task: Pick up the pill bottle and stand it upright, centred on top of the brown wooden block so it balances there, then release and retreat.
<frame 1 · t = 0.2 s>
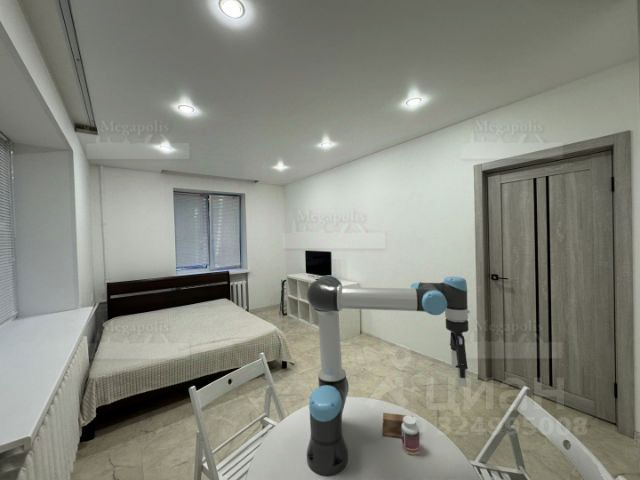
hand: (458, 376, 98), 27 cm above the table, fingers open, 13 cm apart
pill bottle: (410, 449, 100), on the table
brown wooden block: (398, 432, 108), on the table
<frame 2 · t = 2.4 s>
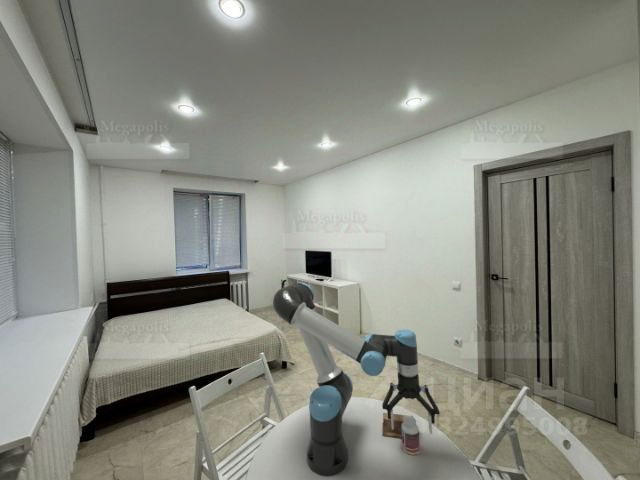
hand: (411, 429, 99), 7 cm above the table, fingers open, 13 cm apart
nothing on the table moved.
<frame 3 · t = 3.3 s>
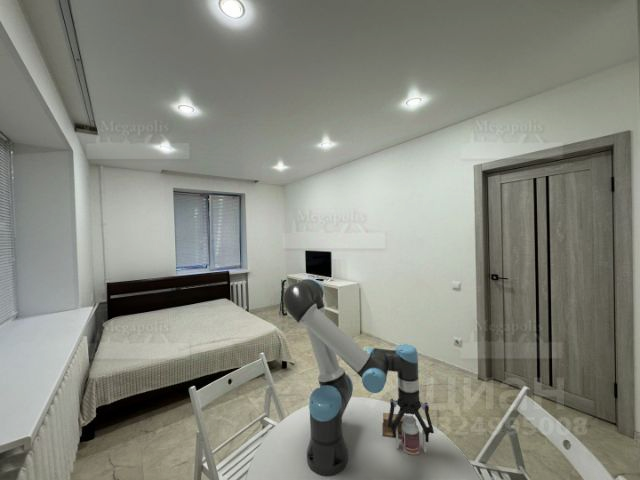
hand: (410, 447, 100), 0 cm above the table, fingers open, 9 cm apart
nothing on the table moved.
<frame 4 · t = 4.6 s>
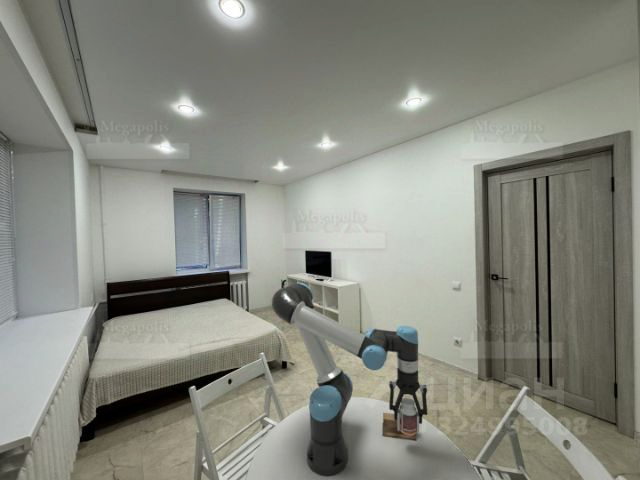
hand: (407, 429, 100), 7 cm above the table, fingers closed on pill bottle, 6 cm apart
pill bottle: (407, 430, 100), point 7 cm above the table, touching gripper
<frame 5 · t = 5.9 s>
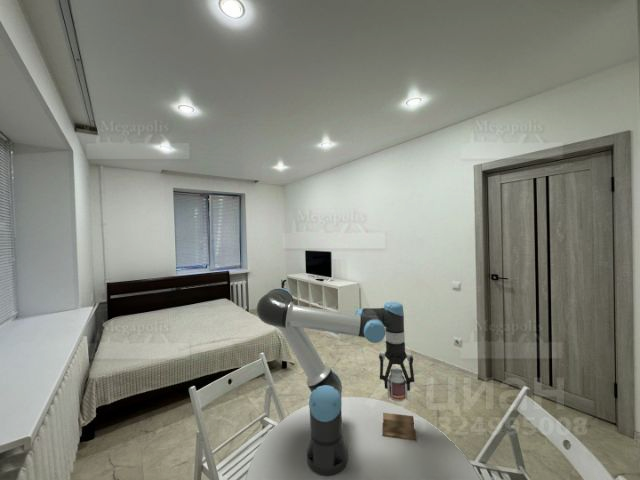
hand: (397, 396, 108), 14 cm above the table, fingers closed on pill bottle, 6 cm apart
pill bottle: (397, 398, 108), point 14 cm above the table, touching gripper
when the fingers open (7 cm above the table, at t = 7.5 s): pill bottle stays where it is, resting on brown wooden block.
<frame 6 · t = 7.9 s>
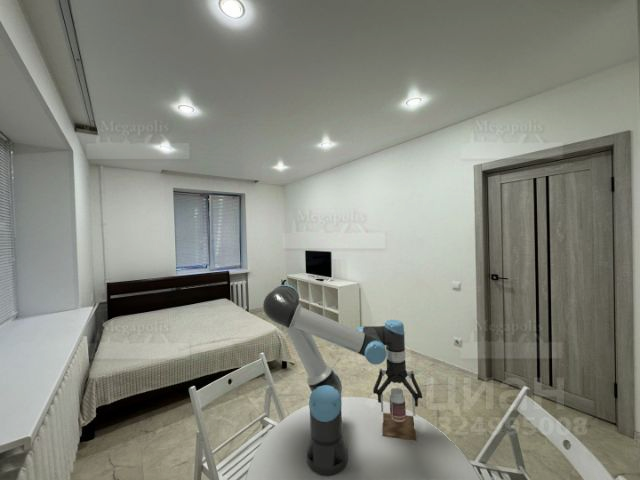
hand: (397, 411, 108), 8 cm above the table, fingers open, 12 cm apart
pill bottle: (398, 418, 108), point 6 cm above the table, touching brown wooden block
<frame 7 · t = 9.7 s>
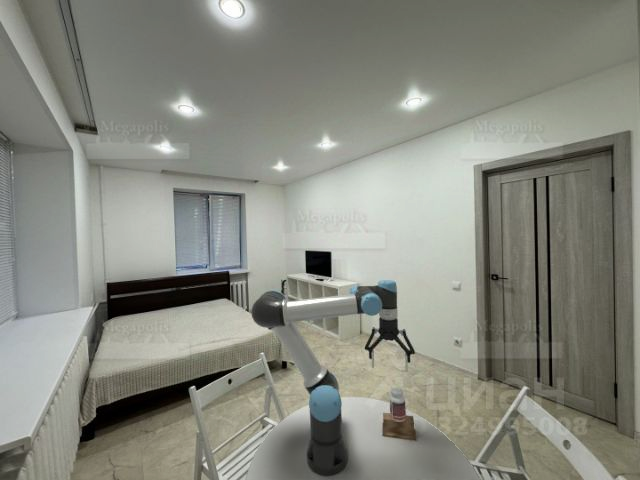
hand: (389, 368, 111), 25 cm above the table, fingers open, 13 cm apart
nothing on the table moved.
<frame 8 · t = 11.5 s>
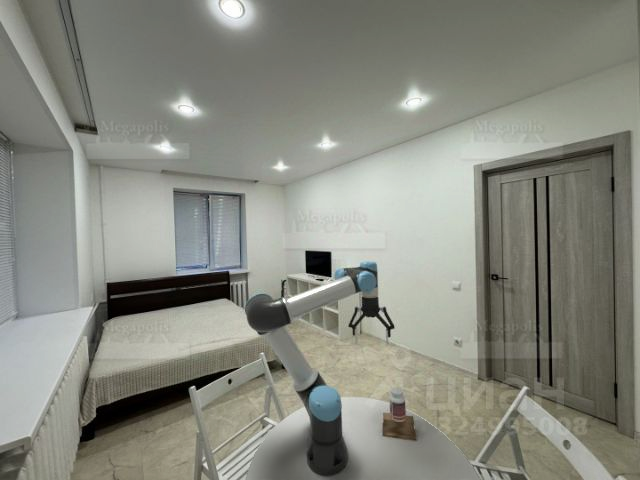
hand: (371, 343, 118), 33 cm above the table, fingers open, 13 cm apart
nothing on the table moved.
at the end: pill bottle 0.1 cm from the brown wooden block (horizontally); pill bottle tilted 0°; pill bottle touching brown wooden block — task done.
